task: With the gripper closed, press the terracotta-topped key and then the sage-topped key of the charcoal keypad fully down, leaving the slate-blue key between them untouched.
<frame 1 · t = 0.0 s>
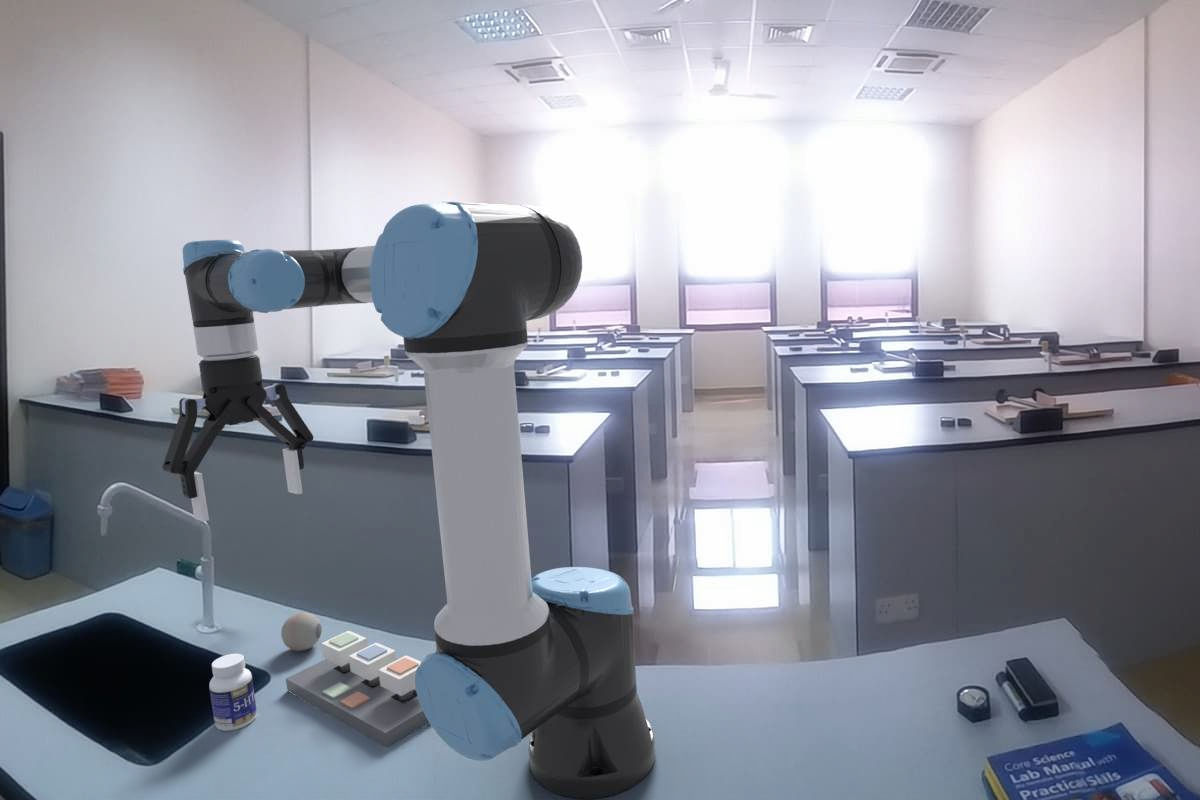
hand: (250, 505, 108), 28 cm above the countertop, fingers open, 13 cm apart
key sage: (345, 653, 114), point 4 cm above the countertop, slide at 0.0 cm
key slate: (373, 666, 109), point 4 cm above the countertop, slide at 0.0 cm
key terracotta: (404, 680, 105), point 4 cm above the countertop, slide at 0.0 cm
eyeball: (304, 649, 125), on the countertop
keypad board: (371, 696, 109), on the countertop
pill bottle: (237, 721, 105), on the countertop
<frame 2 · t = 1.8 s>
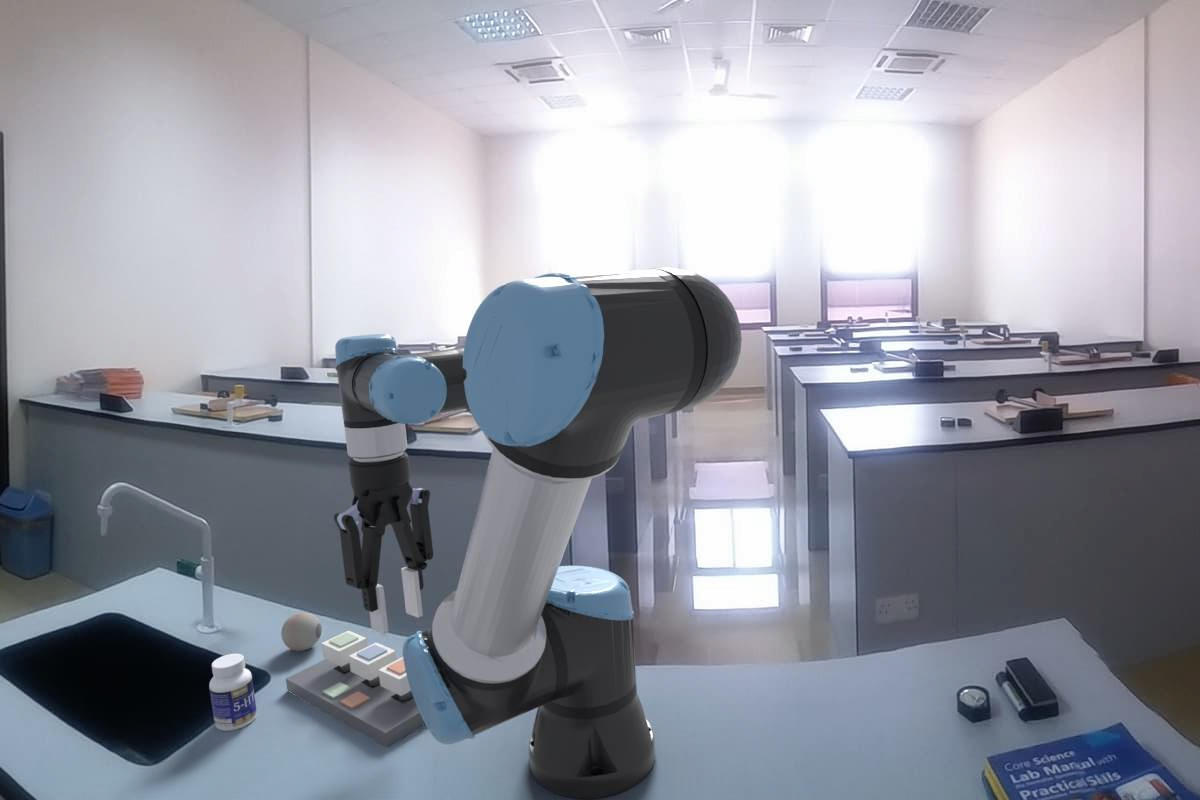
hand: (397, 622, 103), 13 cm above the countertop, fingers open, 5 cm apart
nothing on the countertop moved.
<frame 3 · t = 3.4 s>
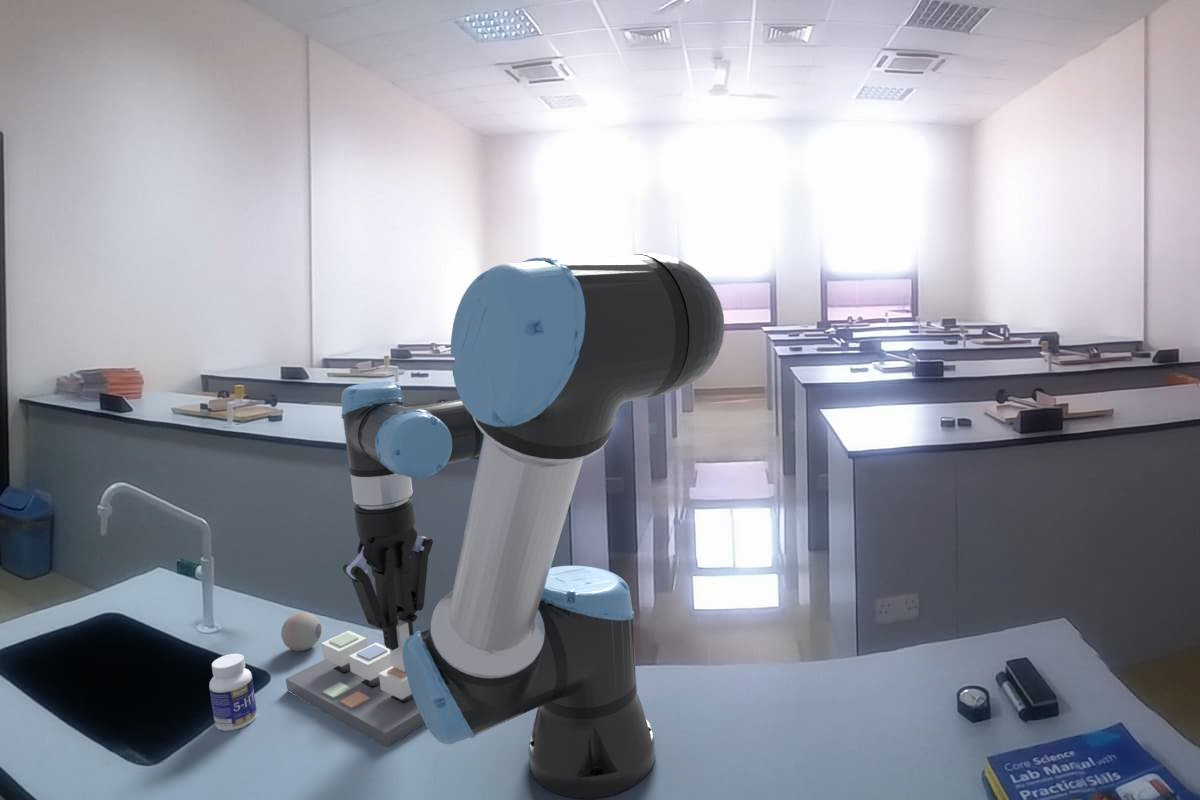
hand: (402, 666, 105), 6 cm above the countertop, fingers closed
key terracotta: (404, 684, 105), point 4 cm above the countertop, slide at 0.5 cm, touching gripper
everything else where it was.
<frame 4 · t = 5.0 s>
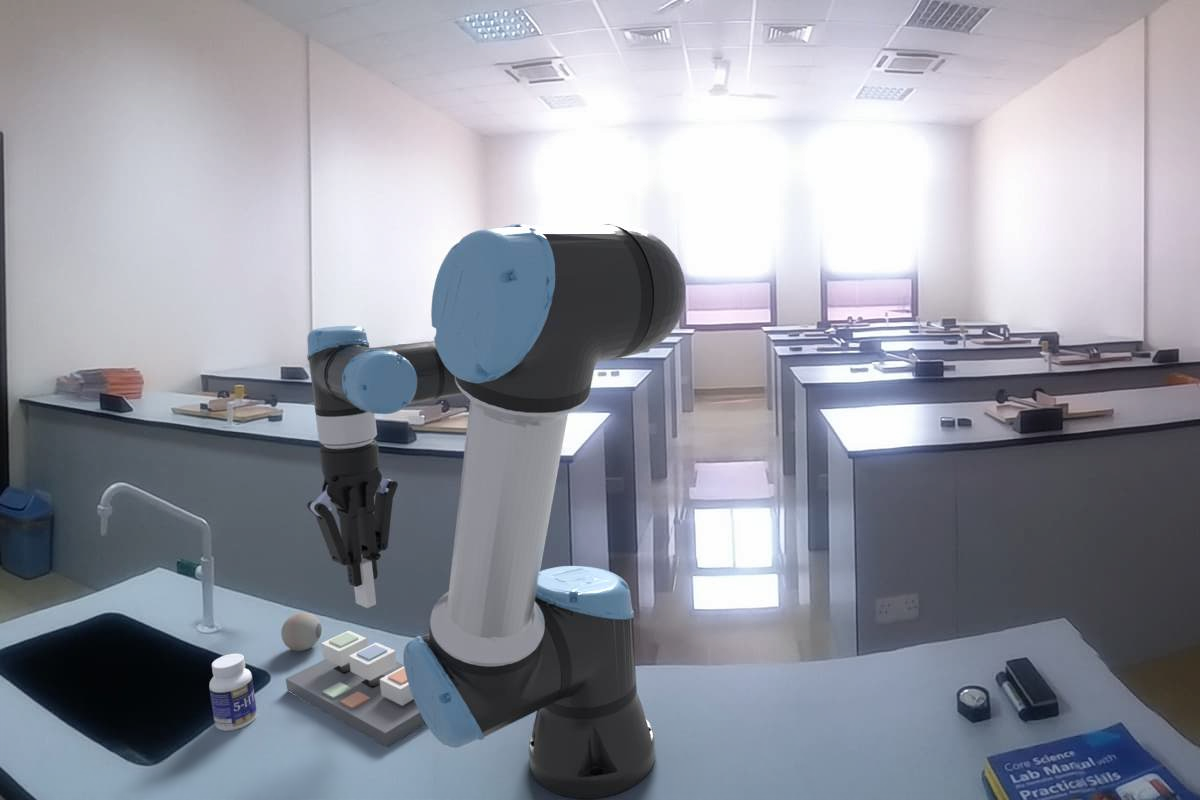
hand: (366, 603, 108), 13 cm above the countertop, fingers closed
key terracotta: (405, 690, 105), point 3 cm above the countertop, slide at 1.4 cm
everything else where it was.
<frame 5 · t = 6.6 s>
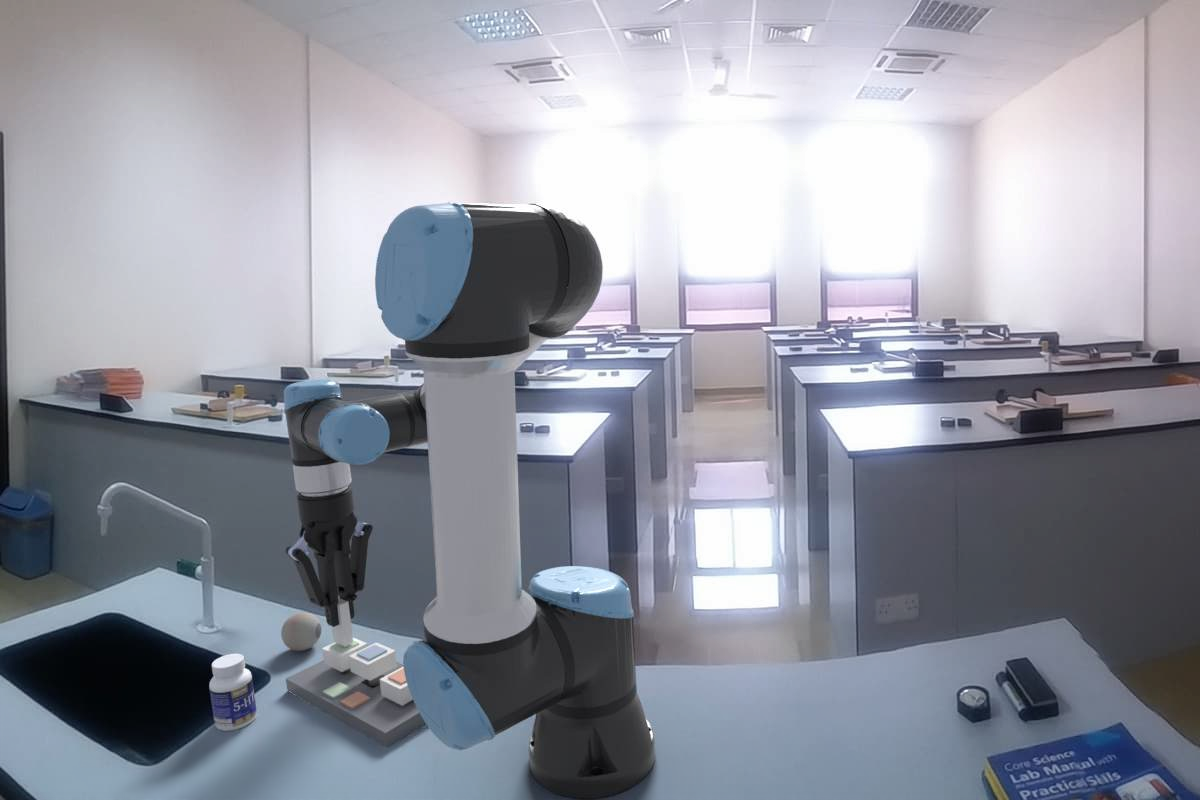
hand: (343, 642, 113), 6 cm above the countertop, fingers closed
key sage: (346, 658, 114), point 3 cm above the countertop, slide at 0.8 cm, touching gripper
everything else where it was.
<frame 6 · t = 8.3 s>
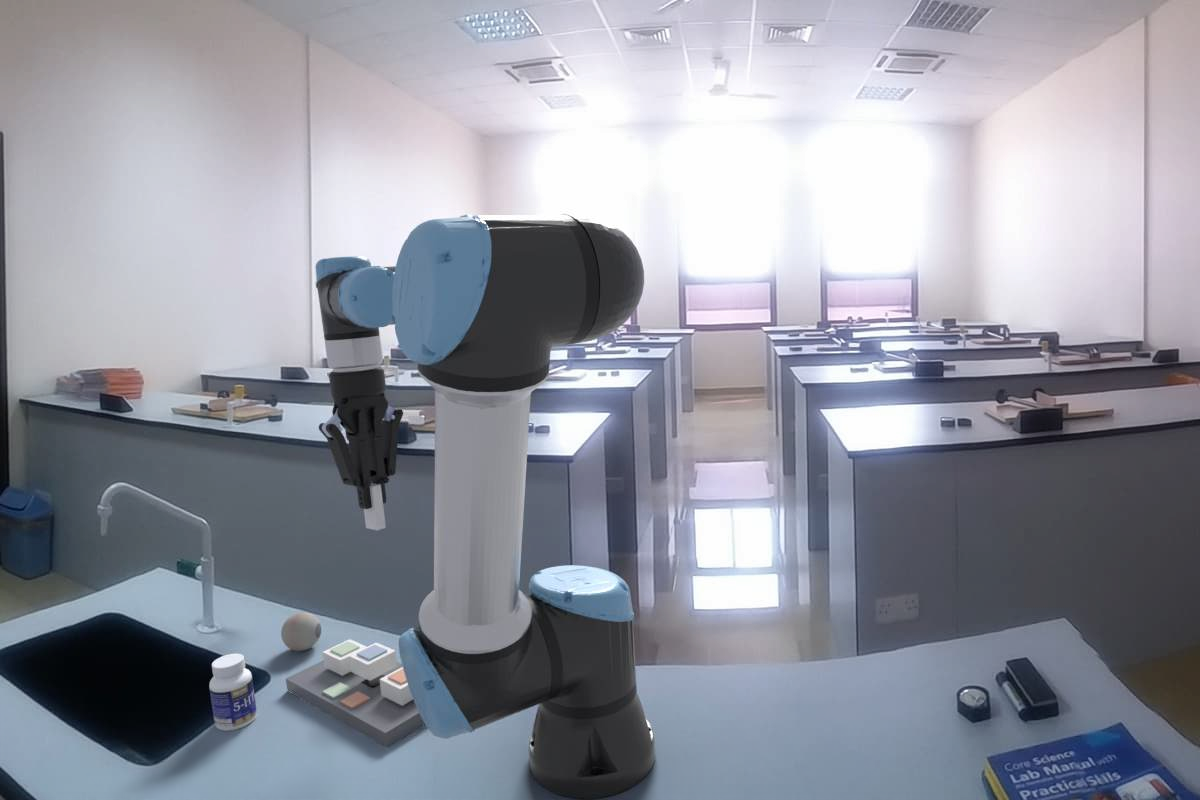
hand: (375, 527, 112), 23 cm above the countertop, fingers closed
key sage: (346, 662, 114), point 3 cm above the countertop, slide at 1.4 cm
everything else where it was.
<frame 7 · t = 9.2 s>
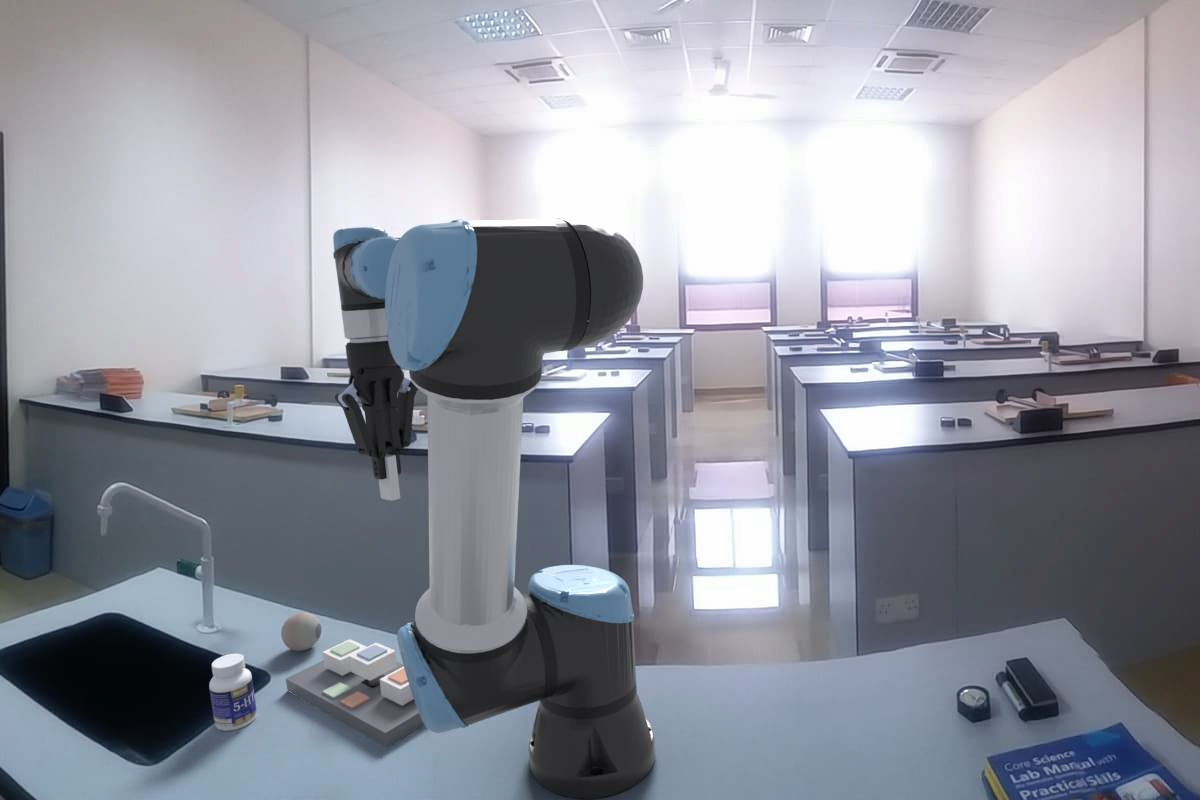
hand: (390, 498, 113), 26 cm above the countertop, fingers closed
nothing on the countertop moved.
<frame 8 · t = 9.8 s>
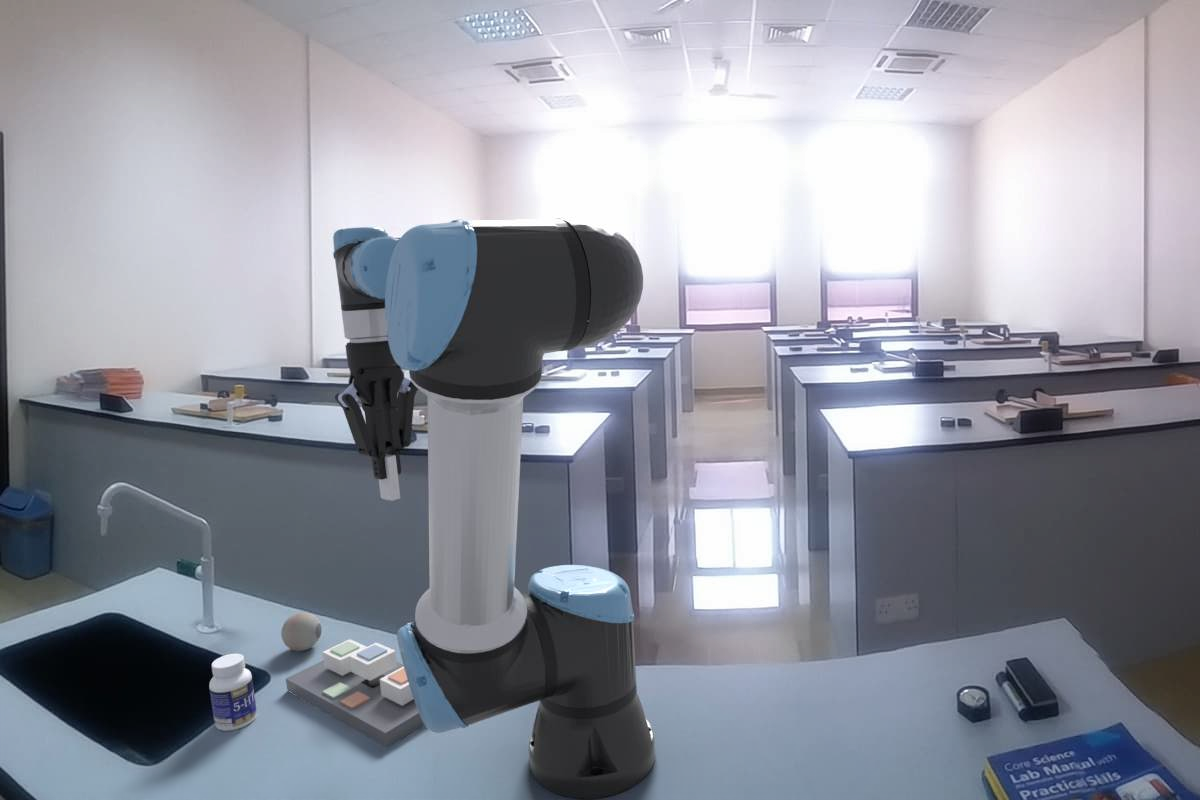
hand: (390, 498, 113), 26 cm above the countertop, fingers closed
nothing on the countertop moved.
at the end: key terracotta slide at 1.4 cm; key sage slide at 1.4 cm; key slate slide at 0.0 cm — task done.
